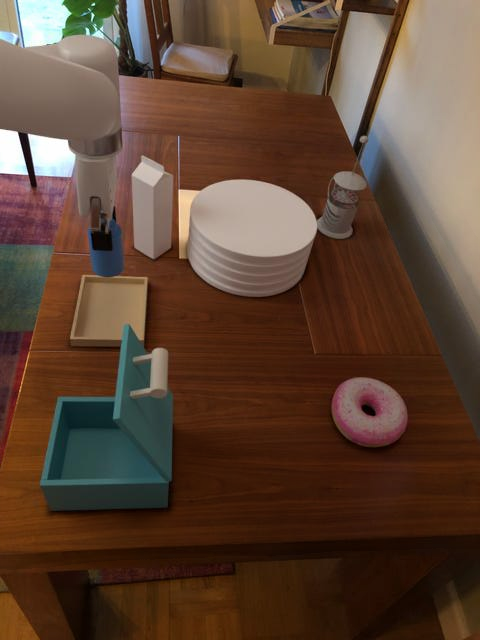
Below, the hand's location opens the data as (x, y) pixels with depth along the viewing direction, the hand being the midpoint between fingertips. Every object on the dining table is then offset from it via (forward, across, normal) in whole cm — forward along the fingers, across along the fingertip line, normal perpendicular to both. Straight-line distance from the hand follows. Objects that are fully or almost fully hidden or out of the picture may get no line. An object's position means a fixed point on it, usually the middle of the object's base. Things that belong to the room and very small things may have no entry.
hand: (104, 236), depth 81 cm
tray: (+19, 0, 0) cm, 19 cm away
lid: (+2, +32, +8) cm, 33 cm away
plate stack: (+19, -20, +29) cm, 40 cm away
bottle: (+7, 0, 0) cm, 7 cm away
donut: (+19, +24, +47) cm, 56 cm away
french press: (+20, -34, +53) cm, 66 cm away
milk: (+19, -21, +7) cm, 29 cm away
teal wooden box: (+19, +32, +4) cm, 38 cm away
